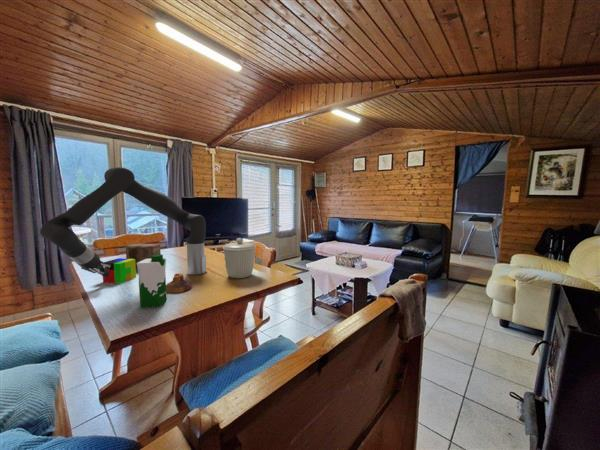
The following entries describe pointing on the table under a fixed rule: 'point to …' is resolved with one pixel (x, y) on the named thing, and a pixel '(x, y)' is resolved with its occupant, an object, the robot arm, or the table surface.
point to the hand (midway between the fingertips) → (107, 275)
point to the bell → (178, 285)
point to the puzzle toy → (120, 270)
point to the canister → (239, 258)
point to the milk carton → (152, 281)
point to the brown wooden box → (141, 251)
